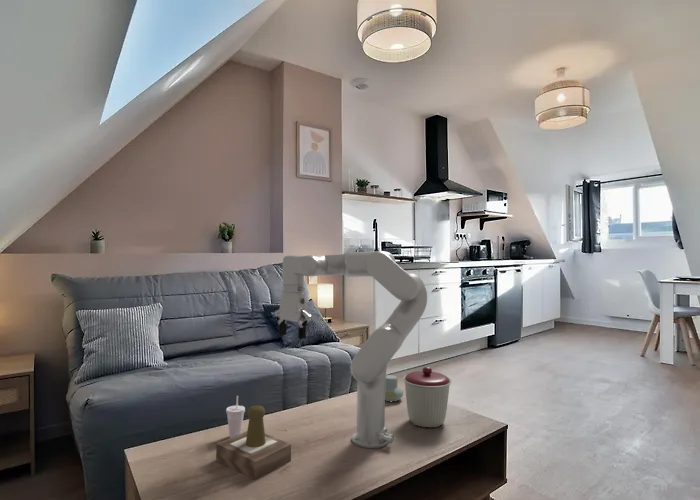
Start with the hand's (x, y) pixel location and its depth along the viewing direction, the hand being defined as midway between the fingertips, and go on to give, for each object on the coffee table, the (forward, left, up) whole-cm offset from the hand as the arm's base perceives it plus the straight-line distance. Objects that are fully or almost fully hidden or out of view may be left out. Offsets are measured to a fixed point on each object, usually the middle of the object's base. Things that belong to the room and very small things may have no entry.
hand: (292, 336), depth 152 cm
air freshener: (-12, -49, -34) cm, 61 cm away
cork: (-8, +24, -28) cm, 38 cm away
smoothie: (+10, +17, -34) cm, 39 cm away
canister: (-36, -36, -34) cm, 61 cm away
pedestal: (-8, +24, -33) cm, 42 cm away
